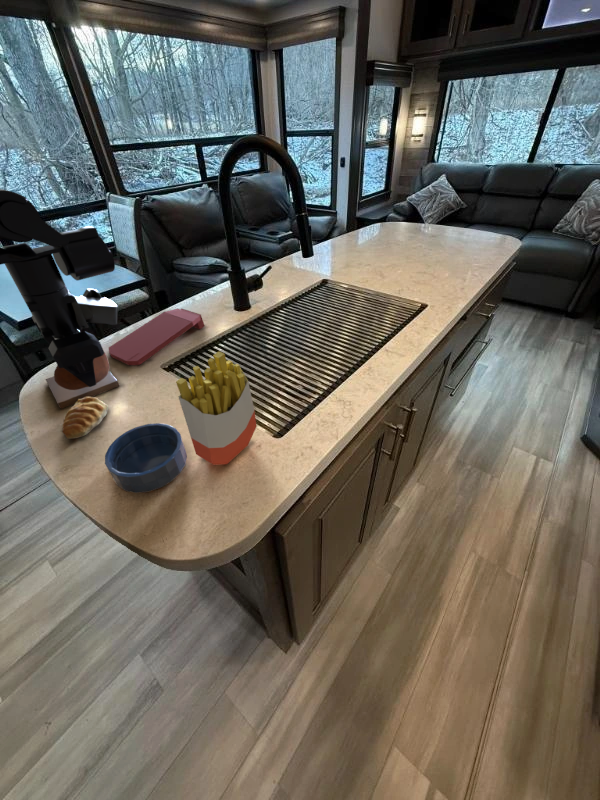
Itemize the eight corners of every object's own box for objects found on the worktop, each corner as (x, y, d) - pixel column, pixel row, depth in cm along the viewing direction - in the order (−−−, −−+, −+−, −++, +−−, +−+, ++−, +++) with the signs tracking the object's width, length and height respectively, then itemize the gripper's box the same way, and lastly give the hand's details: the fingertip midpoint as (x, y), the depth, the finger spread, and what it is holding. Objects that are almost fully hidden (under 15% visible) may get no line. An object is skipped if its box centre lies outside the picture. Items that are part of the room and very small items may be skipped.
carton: (141, 378, 84) (209, 327, 98) (132, 363, 80) (204, 312, 94) (113, 364, 89) (181, 318, 103) (103, 350, 86) (175, 303, 99)
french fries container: (259, 437, 62) (248, 354, 51) (217, 475, 55) (194, 389, 44) (241, 427, 64) (227, 345, 53) (198, 463, 57) (172, 378, 46)
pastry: (92, 440, 62) (84, 425, 60) (55, 442, 62) (45, 427, 59) (111, 408, 69) (104, 393, 67) (78, 410, 69) (70, 395, 67)
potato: (124, 377, 61) (112, 346, 57) (74, 403, 55) (57, 371, 51) (102, 366, 64) (89, 335, 60) (52, 390, 58) (34, 358, 54)
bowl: (130, 508, 51) (119, 490, 48) (105, 464, 58) (95, 446, 55) (199, 467, 57) (194, 449, 54) (169, 431, 64) (163, 414, 61)
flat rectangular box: (61, 409, 69) (57, 403, 68) (48, 384, 76) (45, 379, 76) (119, 386, 76) (117, 380, 75) (103, 365, 83) (100, 360, 82)
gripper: (120, 292, 47) (152, 381, 57) (85, 264, 58) (117, 342, 68) (29, 314, 42) (81, 409, 51) (10, 278, 53) (55, 361, 63)
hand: (86, 376), depth 59 cm, fingers closed on potato, 7 cm apart
